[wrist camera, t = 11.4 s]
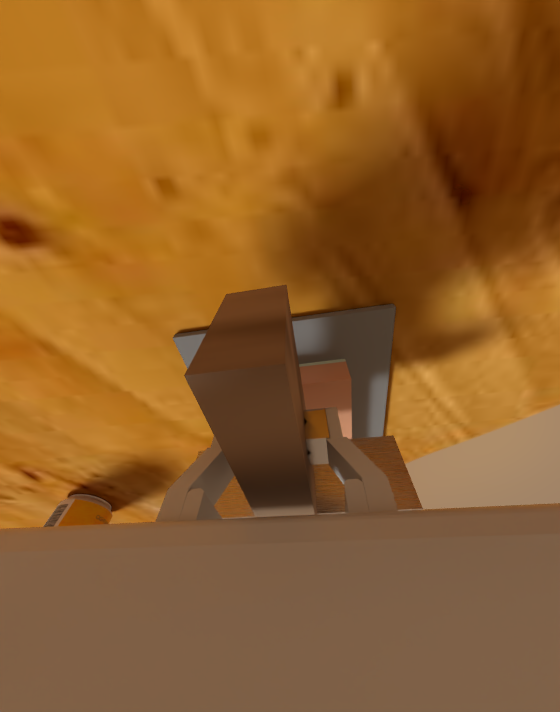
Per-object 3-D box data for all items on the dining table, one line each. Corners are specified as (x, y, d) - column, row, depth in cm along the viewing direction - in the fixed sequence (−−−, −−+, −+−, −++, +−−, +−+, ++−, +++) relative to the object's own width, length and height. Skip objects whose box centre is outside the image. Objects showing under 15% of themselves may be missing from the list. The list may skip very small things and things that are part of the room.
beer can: (96, 517, 35) (-7, 704, 22) (54, 498, 32) (-93, 702, 19) (125, 508, 33) (29, 707, 20) (83, 487, 30) (-60, 705, 18)
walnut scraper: (116, 311, 11) (9, 396, 7) (417, 264, 9) (519, 335, 5) (205, 461, 17) (178, 552, 13) (391, 447, 16) (428, 544, 11)
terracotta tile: (225, 392, 16) (258, 475, 22) (351, 379, 15) (352, 469, 21) (231, 372, 18) (260, 453, 24) (345, 358, 17) (347, 447, 23)
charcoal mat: (175, 334, 17) (172, 337, 17) (393, 303, 15) (395, 307, 15) (232, 455, 25) (231, 459, 25) (379, 443, 23) (381, 448, 23)
